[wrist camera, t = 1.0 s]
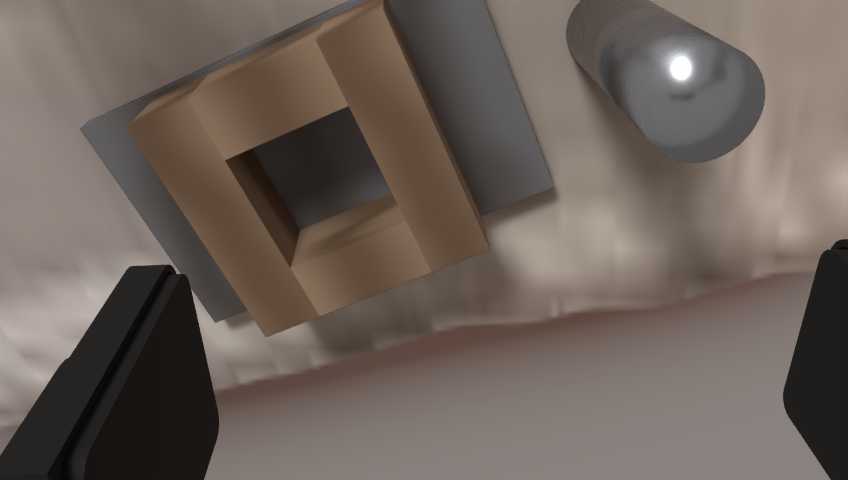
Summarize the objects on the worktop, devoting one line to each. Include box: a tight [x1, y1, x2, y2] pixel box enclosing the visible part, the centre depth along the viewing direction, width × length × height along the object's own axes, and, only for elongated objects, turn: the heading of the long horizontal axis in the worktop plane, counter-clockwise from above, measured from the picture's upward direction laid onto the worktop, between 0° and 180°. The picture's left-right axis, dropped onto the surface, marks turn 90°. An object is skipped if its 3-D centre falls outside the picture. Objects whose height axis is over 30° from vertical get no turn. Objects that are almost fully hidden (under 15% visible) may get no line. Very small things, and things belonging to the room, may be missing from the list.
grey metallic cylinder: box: [566, 0, 765, 163], centre depth 29 cm, size 4×4×12 cm
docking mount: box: [80, 0, 554, 337], centre depth 34 cm, size 20×12×5 cm, turn 113°
